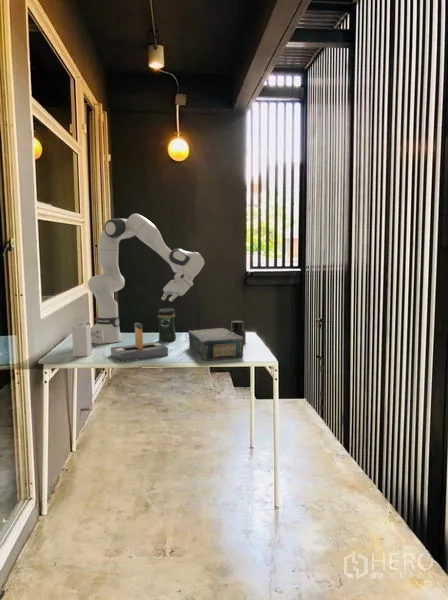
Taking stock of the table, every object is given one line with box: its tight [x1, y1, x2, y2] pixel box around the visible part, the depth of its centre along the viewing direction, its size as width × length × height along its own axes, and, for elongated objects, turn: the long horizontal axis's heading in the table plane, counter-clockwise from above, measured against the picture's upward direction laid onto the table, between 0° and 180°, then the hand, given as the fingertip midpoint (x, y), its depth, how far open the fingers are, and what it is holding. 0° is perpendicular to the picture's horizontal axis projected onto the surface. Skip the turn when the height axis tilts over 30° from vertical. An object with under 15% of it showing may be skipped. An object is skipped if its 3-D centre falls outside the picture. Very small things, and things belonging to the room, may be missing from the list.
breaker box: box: [110, 341, 169, 362], centre depth 237 cm, size 24×16×4 cm, turn 121°
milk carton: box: [71, 317, 93, 357], centre depth 239 cm, size 7×7×19 cm
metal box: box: [187, 327, 244, 362], centre depth 241 cm, size 21×32×10 cm, turn 17°
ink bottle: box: [229, 320, 247, 344], centre depth 264 cm, size 10×9×12 cm
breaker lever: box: [133, 322, 144, 349], centre depth 236 cm, size 3×6×12 cm, turn 31°
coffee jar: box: [157, 308, 177, 342], centre depth 274 cm, size 10×8×19 cm
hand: (166, 300), depth 243 cm, fingers open, 8 cm apart
